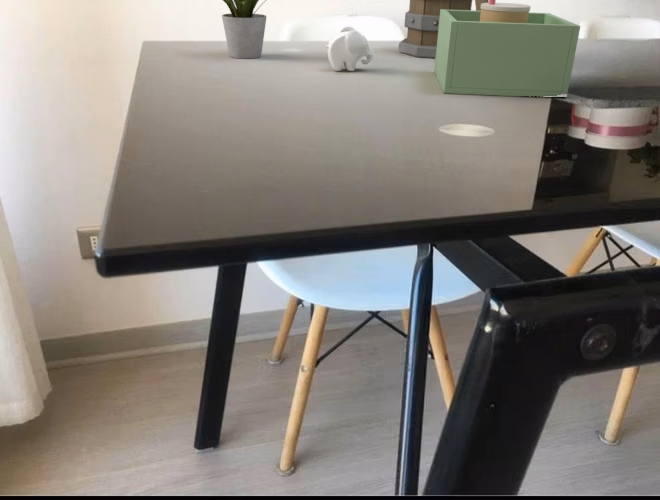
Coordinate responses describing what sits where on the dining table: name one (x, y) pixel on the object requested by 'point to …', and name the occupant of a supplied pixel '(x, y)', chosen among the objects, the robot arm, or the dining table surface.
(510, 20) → the straw cup
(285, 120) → the dining table surface
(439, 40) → the bin
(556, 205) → the dining table surface
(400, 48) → the tankard
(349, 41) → the elephant figurine
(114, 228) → the dining table surface
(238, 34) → the house plant
